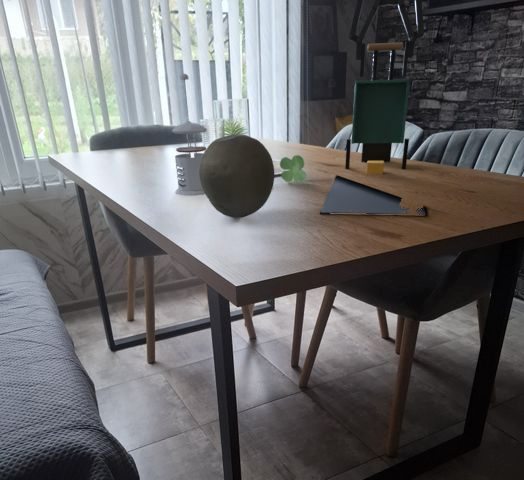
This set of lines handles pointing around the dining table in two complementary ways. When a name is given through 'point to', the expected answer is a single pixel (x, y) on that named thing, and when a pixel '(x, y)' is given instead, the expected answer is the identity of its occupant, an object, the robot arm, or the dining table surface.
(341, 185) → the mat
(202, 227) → the dining table surface
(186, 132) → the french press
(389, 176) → the dining table surface
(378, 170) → the block
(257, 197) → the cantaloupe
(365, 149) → the stand
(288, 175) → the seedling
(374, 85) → the green shallow box
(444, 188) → the dining table surface
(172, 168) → the dining table surface
